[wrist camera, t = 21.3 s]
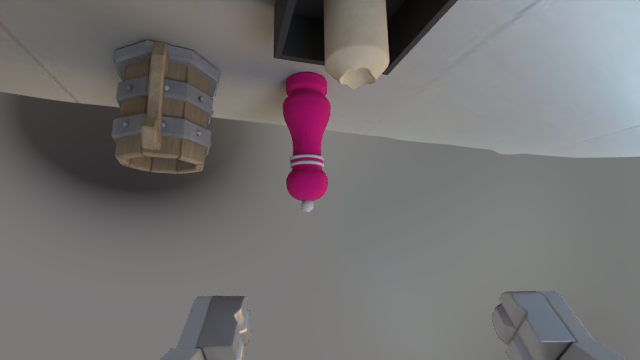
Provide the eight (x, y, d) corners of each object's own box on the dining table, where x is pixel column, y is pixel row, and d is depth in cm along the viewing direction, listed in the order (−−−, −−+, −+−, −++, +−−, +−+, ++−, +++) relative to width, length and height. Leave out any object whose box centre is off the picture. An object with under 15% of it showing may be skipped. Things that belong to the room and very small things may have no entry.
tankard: (213, 96, 52) (208, 184, 49) (126, 81, 47) (114, 178, 44) (231, 19, 34) (225, 150, 31) (93, -18, 29) (70, 134, 26)
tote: (274, 8, 33) (273, 58, 32) (299, -121, 21) (299, -50, 20) (384, 29, 36) (387, 75, 35) (458, -72, 25) (466, -9, 24)
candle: (393, -43, 26) (400, 65, 24) (373, 5, 32) (378, 97, 30) (328, -51, 25) (331, 60, 24) (319, 0, 31) (320, 94, 29)
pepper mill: (273, 82, 48) (271, 212, 44) (304, 63, 43) (305, 207, 39) (308, 97, 53) (309, 214, 49) (339, 81, 48) (343, 211, 44)
